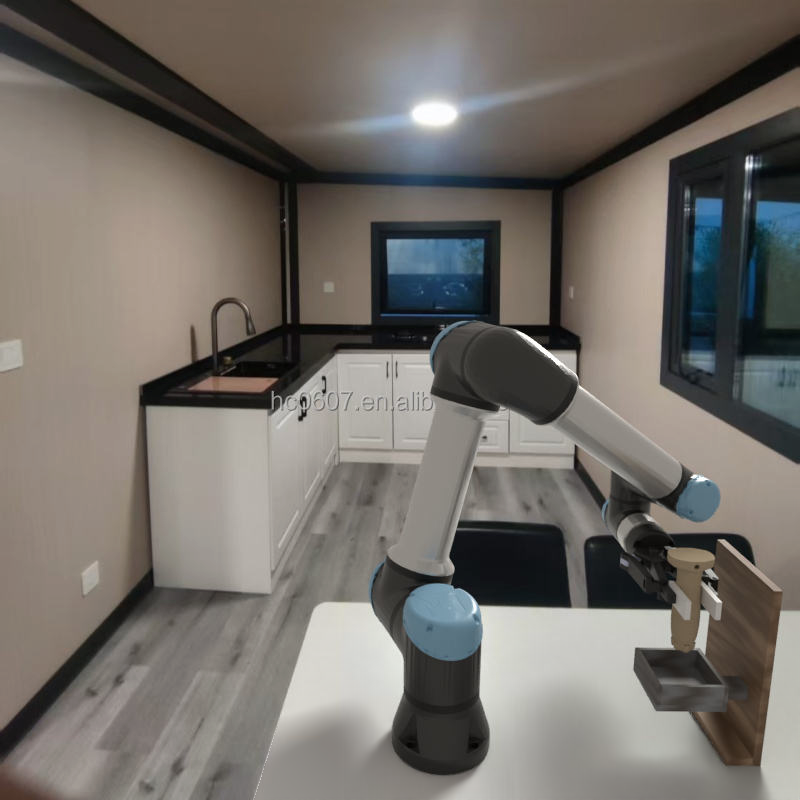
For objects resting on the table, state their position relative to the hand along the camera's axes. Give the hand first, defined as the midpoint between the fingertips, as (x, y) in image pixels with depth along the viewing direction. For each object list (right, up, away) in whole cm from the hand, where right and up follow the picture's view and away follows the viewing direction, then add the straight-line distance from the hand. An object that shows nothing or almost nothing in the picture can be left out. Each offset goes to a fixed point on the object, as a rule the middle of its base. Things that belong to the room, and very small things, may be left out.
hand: (703, 611), depth 97 cm
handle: (0, -8, +7) cm, 11 cm away
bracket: (+3, -23, +14) cm, 27 cm away
